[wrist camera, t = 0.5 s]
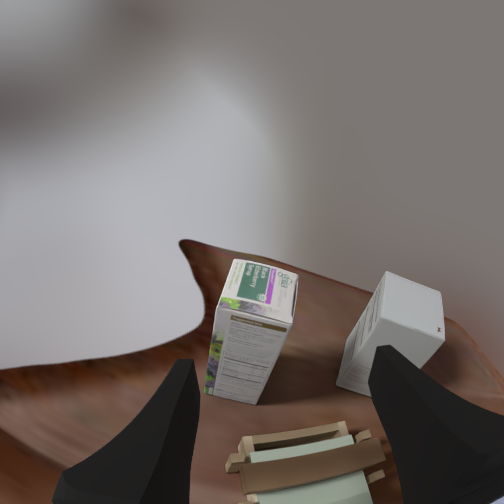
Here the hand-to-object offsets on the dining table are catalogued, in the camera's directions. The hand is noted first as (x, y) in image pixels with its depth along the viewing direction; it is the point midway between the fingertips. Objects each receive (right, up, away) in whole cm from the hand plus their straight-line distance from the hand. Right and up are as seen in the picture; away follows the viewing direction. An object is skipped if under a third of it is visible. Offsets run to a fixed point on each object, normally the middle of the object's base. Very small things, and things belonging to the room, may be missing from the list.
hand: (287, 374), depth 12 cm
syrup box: (-3, -9, +22) cm, 24 cm away
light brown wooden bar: (+4, -13, +10) cm, 17 cm away
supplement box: (+13, -10, +25) cm, 29 cm away
